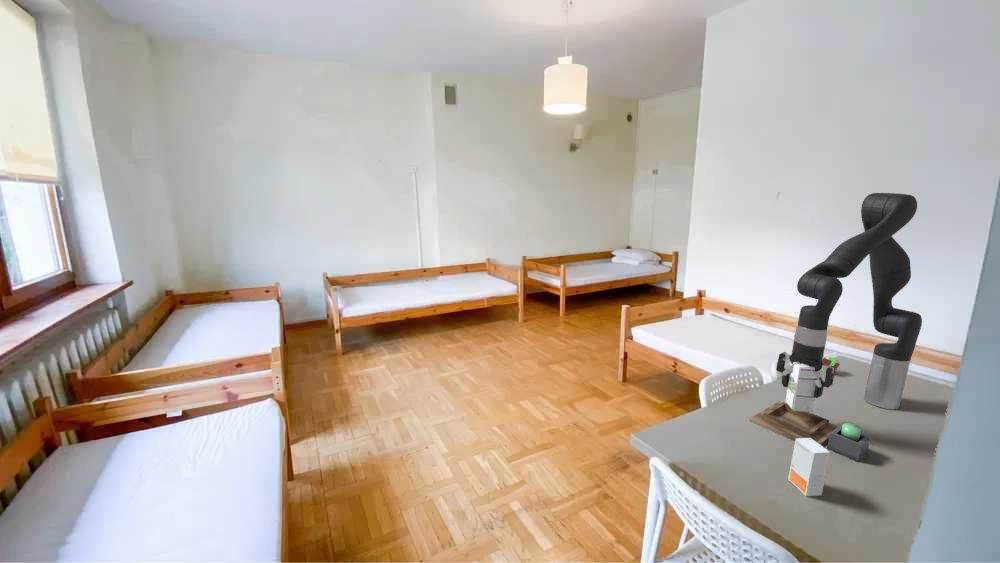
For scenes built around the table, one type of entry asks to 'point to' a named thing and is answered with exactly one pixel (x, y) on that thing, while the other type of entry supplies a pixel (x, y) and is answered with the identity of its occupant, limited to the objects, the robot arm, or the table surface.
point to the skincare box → (809, 466)
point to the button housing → (848, 445)
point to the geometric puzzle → (830, 362)
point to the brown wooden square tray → (794, 423)
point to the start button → (851, 431)
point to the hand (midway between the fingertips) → (800, 391)
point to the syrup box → (801, 388)
